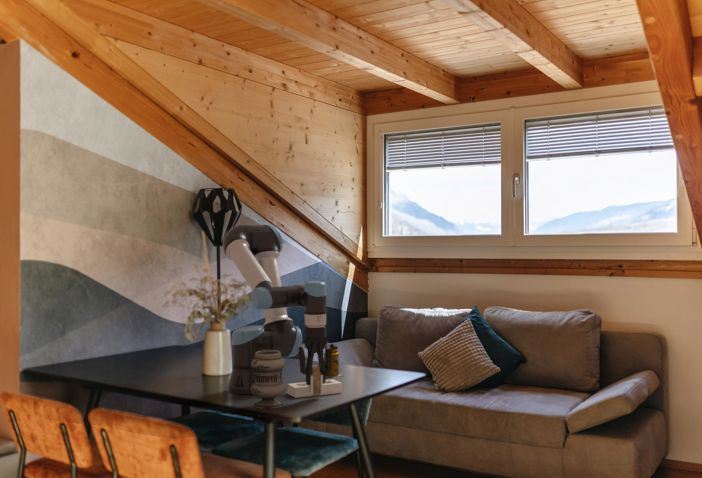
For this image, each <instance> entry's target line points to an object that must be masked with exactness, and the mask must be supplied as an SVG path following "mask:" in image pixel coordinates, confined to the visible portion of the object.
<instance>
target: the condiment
mask: <svg viewBox="0 0 702 478" xmlns="http://www.w3.org/2000/svg"><path fill="white" fill-rule="evenodd" d="M326 349H327V348H326V346H325V348H324V352H323V353H324V355H323V357H324V364H325V359H326ZM338 350H339V348H338V346H337V345H335V344H334V347H333V350H332V358H331V370H330V372H327V374H326V375H325V379H326V378H332V377H333V378H334V377H341V376H343V374H339V373H340V362H339V360H340V355H339V351H338Z"/></svg>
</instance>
